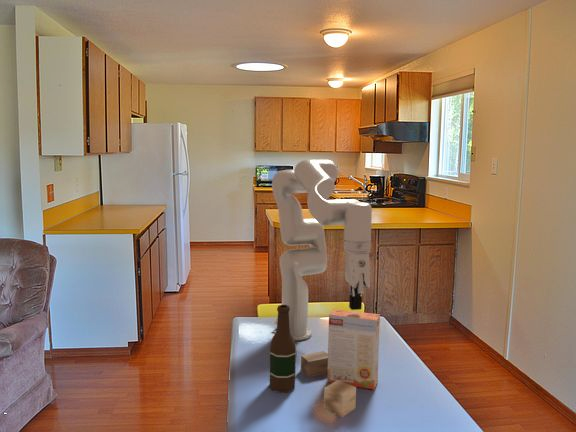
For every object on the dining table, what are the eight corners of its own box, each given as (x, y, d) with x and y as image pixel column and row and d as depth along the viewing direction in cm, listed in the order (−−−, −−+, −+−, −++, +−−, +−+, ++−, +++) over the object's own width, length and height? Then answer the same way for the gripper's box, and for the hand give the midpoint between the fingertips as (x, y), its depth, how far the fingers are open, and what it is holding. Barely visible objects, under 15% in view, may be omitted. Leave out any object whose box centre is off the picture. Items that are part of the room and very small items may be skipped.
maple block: (323, 409, 131) (324, 387, 130) (337, 400, 136) (337, 379, 135) (342, 417, 127) (343, 395, 126) (355, 408, 132) (356, 387, 131)
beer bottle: (265, 382, 145) (265, 303, 142) (290, 378, 148) (291, 300, 144) (274, 395, 138) (274, 312, 134) (300, 390, 141) (301, 309, 137)
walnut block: (300, 370, 153) (301, 355, 153) (323, 365, 157) (323, 350, 156) (308, 377, 149) (308, 361, 148) (331, 372, 152) (331, 357, 152)
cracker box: (378, 381, 147) (380, 313, 144) (374, 391, 141) (377, 320, 138) (332, 373, 151) (333, 307, 148) (326, 382, 146) (328, 313, 143)
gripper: (378, 251, 134) (376, 316, 136) (362, 240, 149) (360, 300, 151) (351, 252, 133) (349, 318, 135) (337, 241, 147) (336, 301, 150)
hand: (355, 308), depth 143 cm, fingers closed
